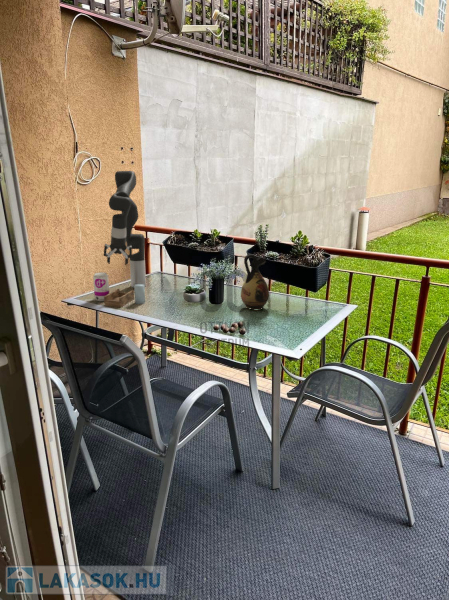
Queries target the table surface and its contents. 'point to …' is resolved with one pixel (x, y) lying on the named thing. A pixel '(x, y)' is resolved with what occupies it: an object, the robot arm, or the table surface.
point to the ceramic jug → (254, 285)
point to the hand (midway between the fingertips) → (117, 263)
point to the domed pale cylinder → (139, 293)
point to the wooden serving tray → (118, 298)
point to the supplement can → (101, 285)
